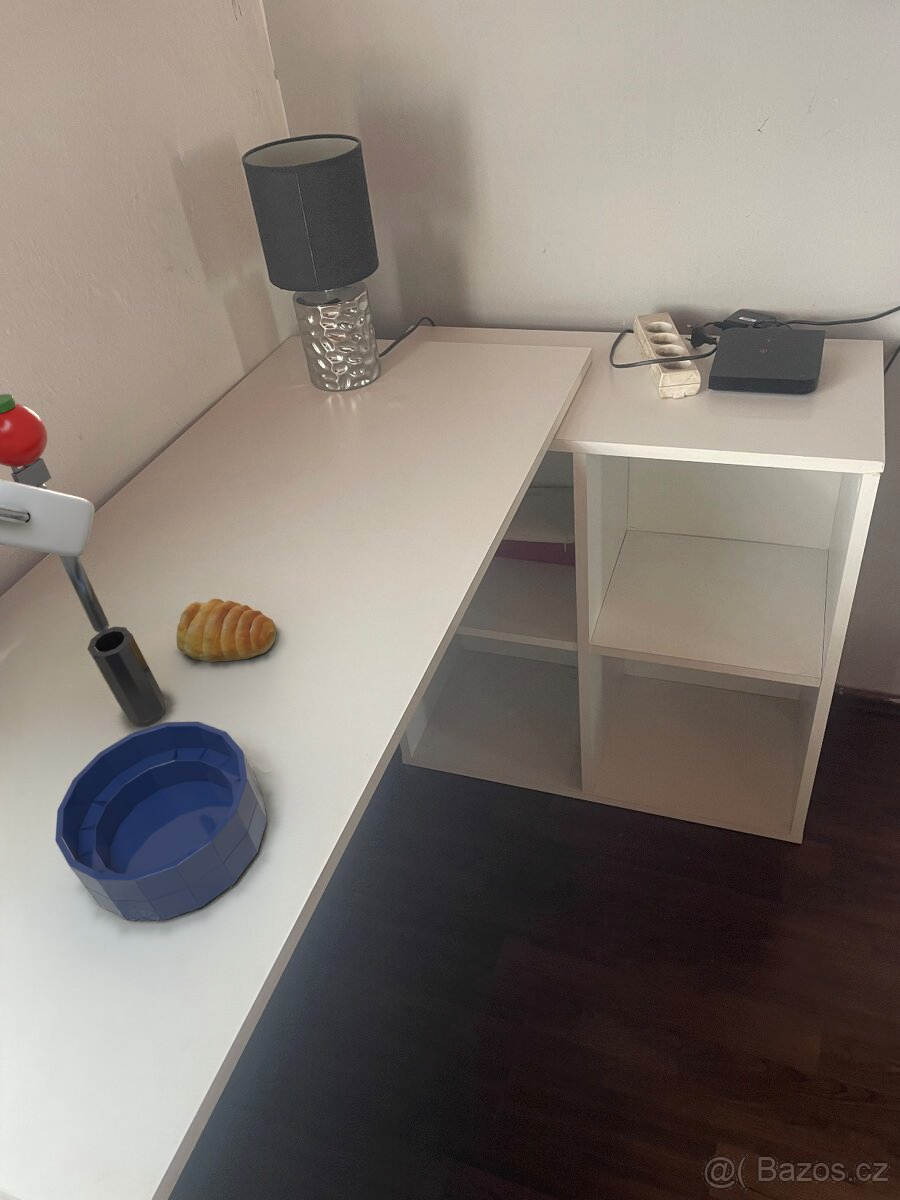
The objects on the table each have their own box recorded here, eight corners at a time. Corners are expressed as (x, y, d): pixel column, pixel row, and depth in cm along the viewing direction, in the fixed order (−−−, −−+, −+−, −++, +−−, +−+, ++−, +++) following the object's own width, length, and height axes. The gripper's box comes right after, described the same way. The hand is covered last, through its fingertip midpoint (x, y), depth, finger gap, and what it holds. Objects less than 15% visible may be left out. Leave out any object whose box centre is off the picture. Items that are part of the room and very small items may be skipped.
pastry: (289, 621, 86) (279, 592, 83) (264, 670, 81) (252, 641, 78) (205, 616, 88) (193, 587, 86) (175, 663, 83) (161, 635, 81)
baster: (102, 653, 65) (-9, 417, 54) (64, 641, 67) (-52, 411, 56) (141, 620, 68) (43, 389, 57) (103, 609, 70) (1, 384, 59)
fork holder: (137, 733, 77) (97, 663, 71) (121, 711, 79) (81, 641, 73) (174, 711, 78) (137, 640, 73) (157, 690, 81) (120, 620, 75)
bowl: (132, 963, 60) (98, 920, 56) (63, 839, 69) (29, 794, 65) (300, 841, 66) (280, 794, 62) (216, 741, 75) (194, 694, 71)
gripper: (-24, 445, 45) (168, 497, 57) (-238, 407, 53) (-31, 460, 66) (-49, 564, 45) (148, 590, 57) (-259, 507, 53) (-49, 541, 66)
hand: (50, 520), depth 62 cm, fingers closed on baster
